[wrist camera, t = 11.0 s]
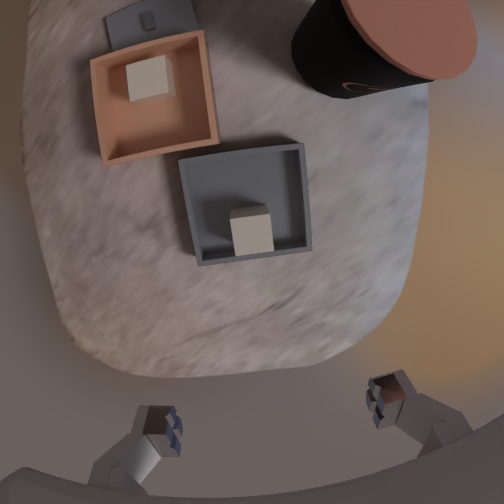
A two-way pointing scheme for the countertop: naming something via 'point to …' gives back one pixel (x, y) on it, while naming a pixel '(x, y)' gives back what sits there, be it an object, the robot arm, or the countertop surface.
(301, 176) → the tray
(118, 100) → the terracotta bin
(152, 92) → the cream cube
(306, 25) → the coffee jar
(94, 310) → the countertop surface
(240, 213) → the stone
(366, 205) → the countertop surface
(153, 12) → the tray lid
